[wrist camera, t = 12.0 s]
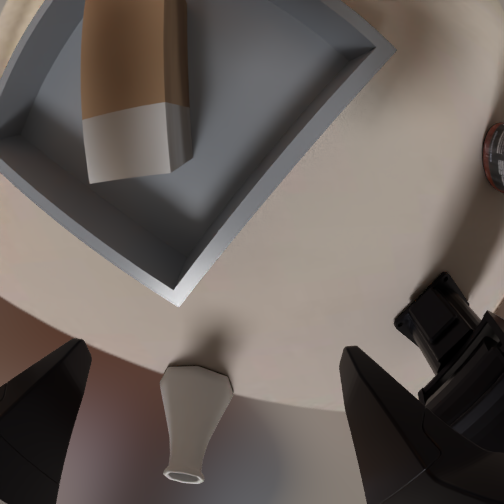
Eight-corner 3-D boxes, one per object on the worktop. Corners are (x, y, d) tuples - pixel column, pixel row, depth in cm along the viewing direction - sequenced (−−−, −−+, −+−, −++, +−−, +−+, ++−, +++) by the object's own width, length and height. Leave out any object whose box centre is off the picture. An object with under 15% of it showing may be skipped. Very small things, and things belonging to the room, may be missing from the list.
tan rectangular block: (187, 3, 11) (165, -33, 7) (193, 158, 16) (170, 173, 11) (124, 17, 11) (86, -9, 7) (130, 165, 16) (89, 183, 11)
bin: (363, 63, 14) (397, 50, 9) (192, 268, 19) (178, 307, 15) (148, -58, 9) (128, -87, 5) (16, 138, 15) (-24, 149, 10)
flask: (161, 399, 26) (143, 480, 17) (159, 356, 23) (131, 453, 14) (229, 410, 27) (225, 493, 18) (239, 369, 24) (236, 471, 15)
